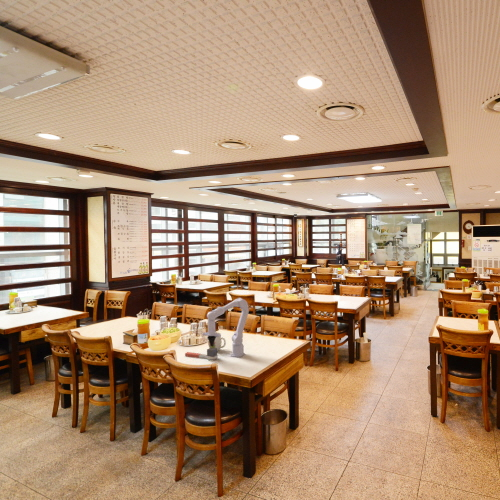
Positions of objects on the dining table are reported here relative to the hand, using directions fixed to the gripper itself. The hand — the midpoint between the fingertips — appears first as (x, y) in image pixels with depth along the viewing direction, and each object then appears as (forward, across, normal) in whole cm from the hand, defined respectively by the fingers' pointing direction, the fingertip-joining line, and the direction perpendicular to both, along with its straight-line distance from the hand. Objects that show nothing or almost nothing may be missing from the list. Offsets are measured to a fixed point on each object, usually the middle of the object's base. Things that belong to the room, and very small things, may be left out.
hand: (212, 345), depth 261 cm
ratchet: (+10, -9, 0) cm, 14 cm away
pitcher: (+10, -7, +19) cm, 23 cm away
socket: (+7, 0, 0) cm, 7 cm away
